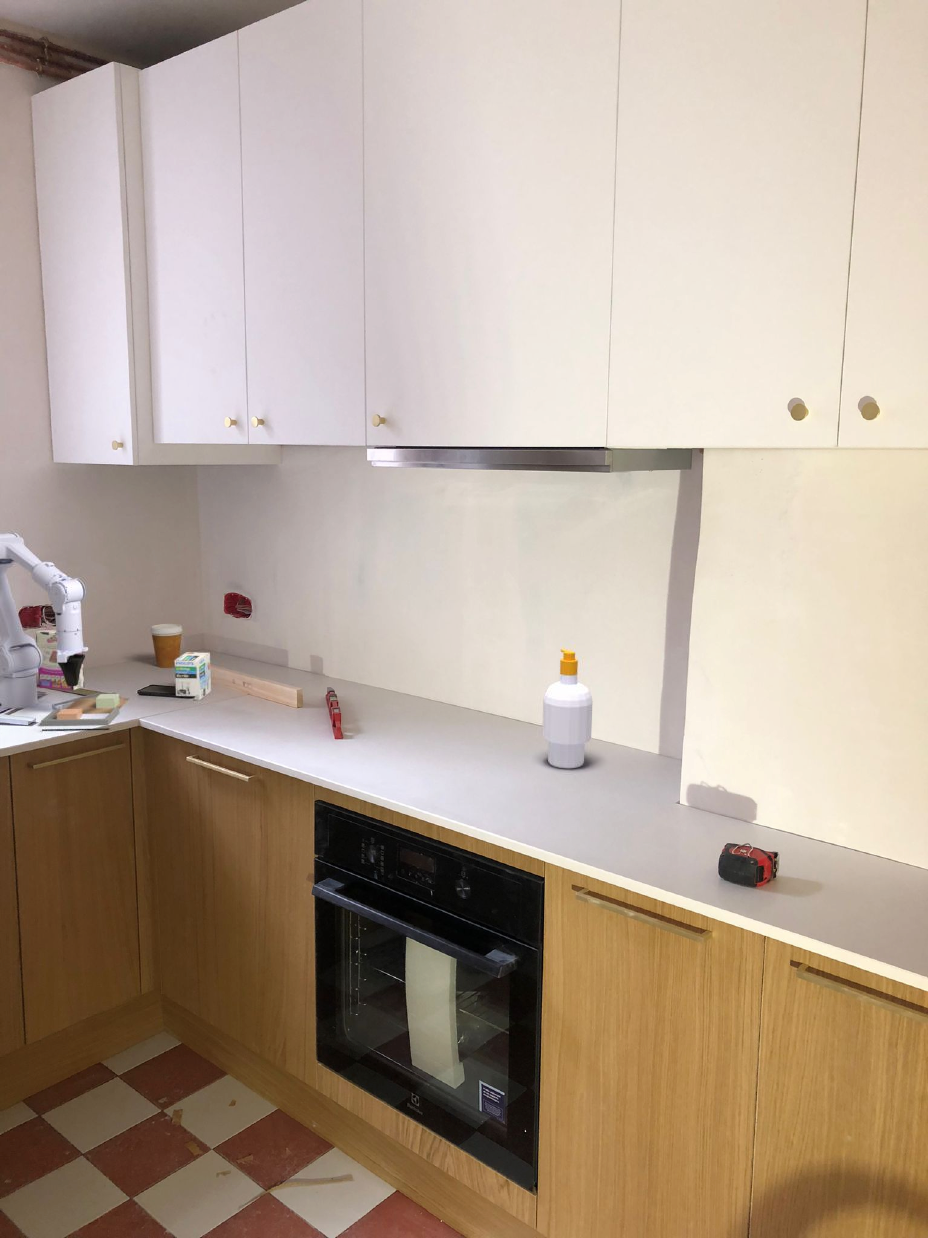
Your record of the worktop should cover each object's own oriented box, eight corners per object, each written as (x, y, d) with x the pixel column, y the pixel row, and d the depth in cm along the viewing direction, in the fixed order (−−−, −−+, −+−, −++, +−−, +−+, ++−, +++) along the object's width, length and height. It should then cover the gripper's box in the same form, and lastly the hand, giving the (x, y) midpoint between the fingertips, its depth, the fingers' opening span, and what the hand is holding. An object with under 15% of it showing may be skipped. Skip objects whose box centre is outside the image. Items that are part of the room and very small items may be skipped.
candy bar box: (85, 690, 265) (82, 630, 262) (73, 694, 260) (69, 633, 258) (51, 686, 268) (47, 627, 266) (38, 691, 264) (34, 631, 261)
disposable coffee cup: (149, 663, 298) (148, 624, 296) (182, 661, 302) (180, 622, 300) (153, 670, 290) (151, 630, 288) (186, 667, 294) (185, 628, 291)
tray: (41, 731, 227) (41, 720, 226) (56, 718, 237) (55, 708, 237) (108, 730, 228) (107, 719, 228) (119, 717, 239) (119, 707, 238)
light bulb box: (200, 700, 256) (199, 660, 254) (175, 700, 256) (173, 659, 254) (211, 690, 266) (210, 651, 264) (187, 690, 266) (185, 651, 264)
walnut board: (60, 718, 237) (59, 713, 237) (77, 703, 251) (77, 698, 251) (115, 718, 238) (115, 713, 238) (129, 702, 253) (129, 698, 252)
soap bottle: (576, 754, 214) (579, 646, 210) (599, 768, 205) (603, 655, 201) (533, 759, 211) (536, 649, 206) (554, 773, 201) (558, 658, 197)
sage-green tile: (96, 708, 242) (95, 698, 242) (101, 703, 247) (100, 694, 246) (114, 708, 243) (114, 698, 242) (119, 703, 247) (118, 693, 247)
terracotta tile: (57, 724, 231) (56, 714, 231) (63, 719, 235) (62, 709, 235) (77, 724, 231) (76, 713, 231) (82, 718, 236) (81, 708, 235)
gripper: (77, 635, 226) (80, 692, 229) (95, 624, 241) (97, 678, 243) (46, 635, 226) (49, 693, 228) (65, 624, 240) (68, 678, 242)
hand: (72, 685), depth 235 cm, fingers closed
